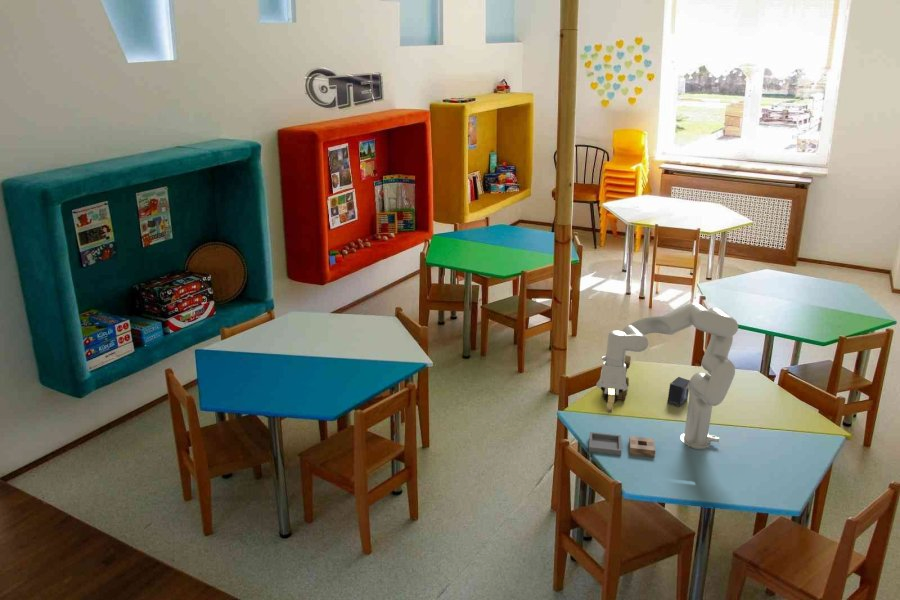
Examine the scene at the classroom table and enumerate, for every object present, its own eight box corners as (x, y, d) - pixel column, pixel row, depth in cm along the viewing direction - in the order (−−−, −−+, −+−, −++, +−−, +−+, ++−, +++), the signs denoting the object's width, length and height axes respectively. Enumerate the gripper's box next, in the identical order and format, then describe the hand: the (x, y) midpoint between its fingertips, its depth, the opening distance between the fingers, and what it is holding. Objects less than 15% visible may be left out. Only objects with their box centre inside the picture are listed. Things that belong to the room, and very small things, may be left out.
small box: (679, 407, 363) (682, 387, 359) (666, 403, 367) (669, 383, 363) (688, 400, 371) (691, 380, 367) (675, 396, 375) (677, 376, 371)
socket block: (652, 447, 328) (653, 438, 326) (654, 459, 318) (655, 450, 317) (628, 444, 329) (629, 435, 328) (629, 456, 320) (630, 447, 319)
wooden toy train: (605, 383, 386) (608, 352, 380) (629, 386, 383) (632, 355, 377) (600, 400, 368) (603, 368, 362) (625, 404, 365) (628, 372, 359)
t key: (612, 416, 317) (614, 396, 314) (606, 415, 317) (608, 395, 314) (612, 407, 324) (614, 388, 321) (606, 406, 325) (608, 387, 322)
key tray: (620, 441, 331) (620, 435, 330) (620, 457, 319) (621, 450, 318) (589, 438, 334) (589, 431, 333) (588, 453, 321) (589, 447, 320)
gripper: (594, 362, 311) (590, 403, 317) (635, 366, 308) (630, 408, 314) (594, 355, 318) (590, 395, 324) (635, 359, 315) (630, 400, 321)
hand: (610, 401), depth 319 cm, fingers closed on t key, 2 cm apart
